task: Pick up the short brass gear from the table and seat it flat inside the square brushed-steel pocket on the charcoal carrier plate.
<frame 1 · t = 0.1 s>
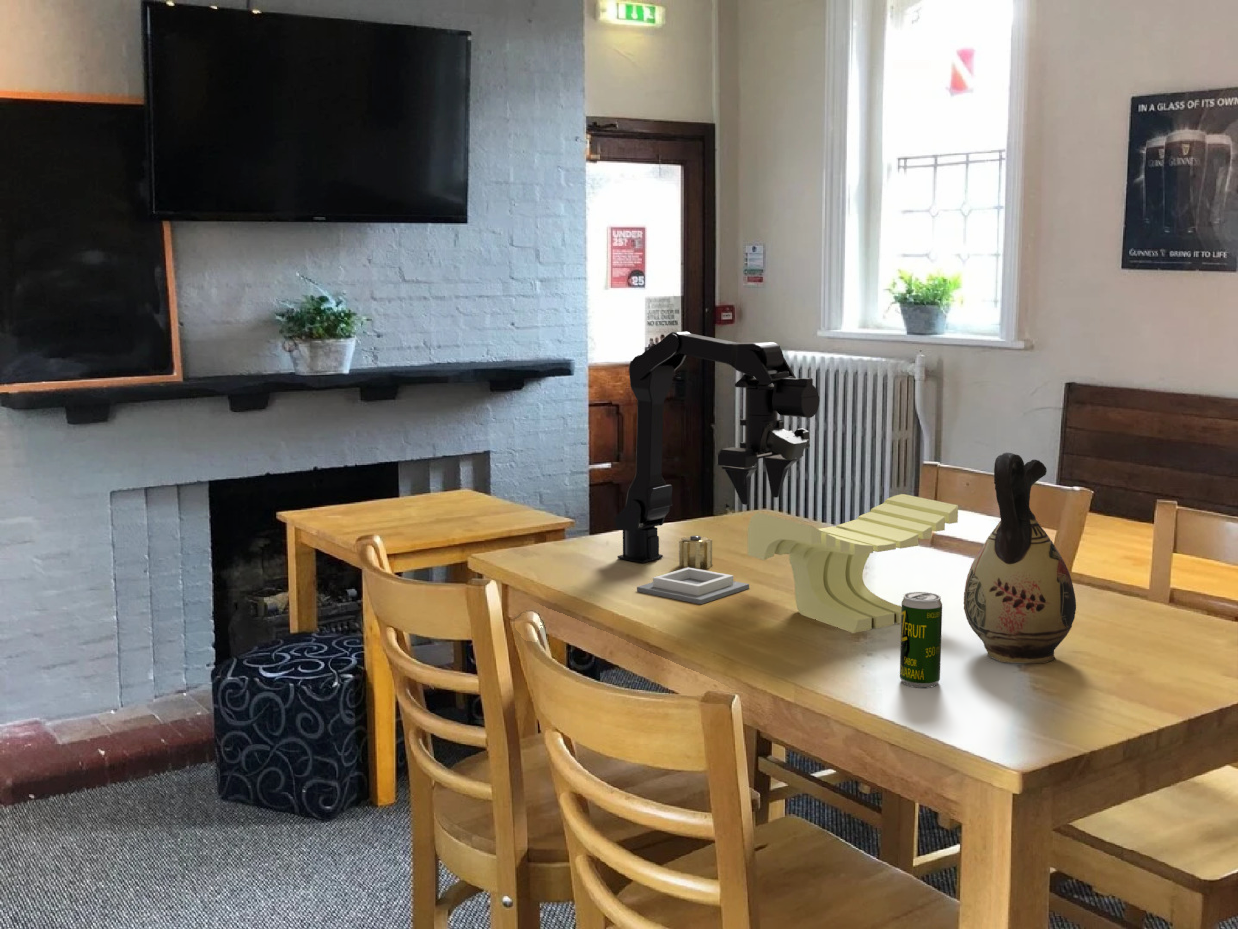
hand: (760, 500, 233), 15 cm above the table, fingers open, 9 cm apart
gear: (695, 565, 247), on the table
ceramic jug: (1014, 658, 189), on the table
carrier plate: (693, 589, 229), on the table
slatted curved stool: (851, 616, 212), on the table
green soda can: (919, 683, 178), on the table
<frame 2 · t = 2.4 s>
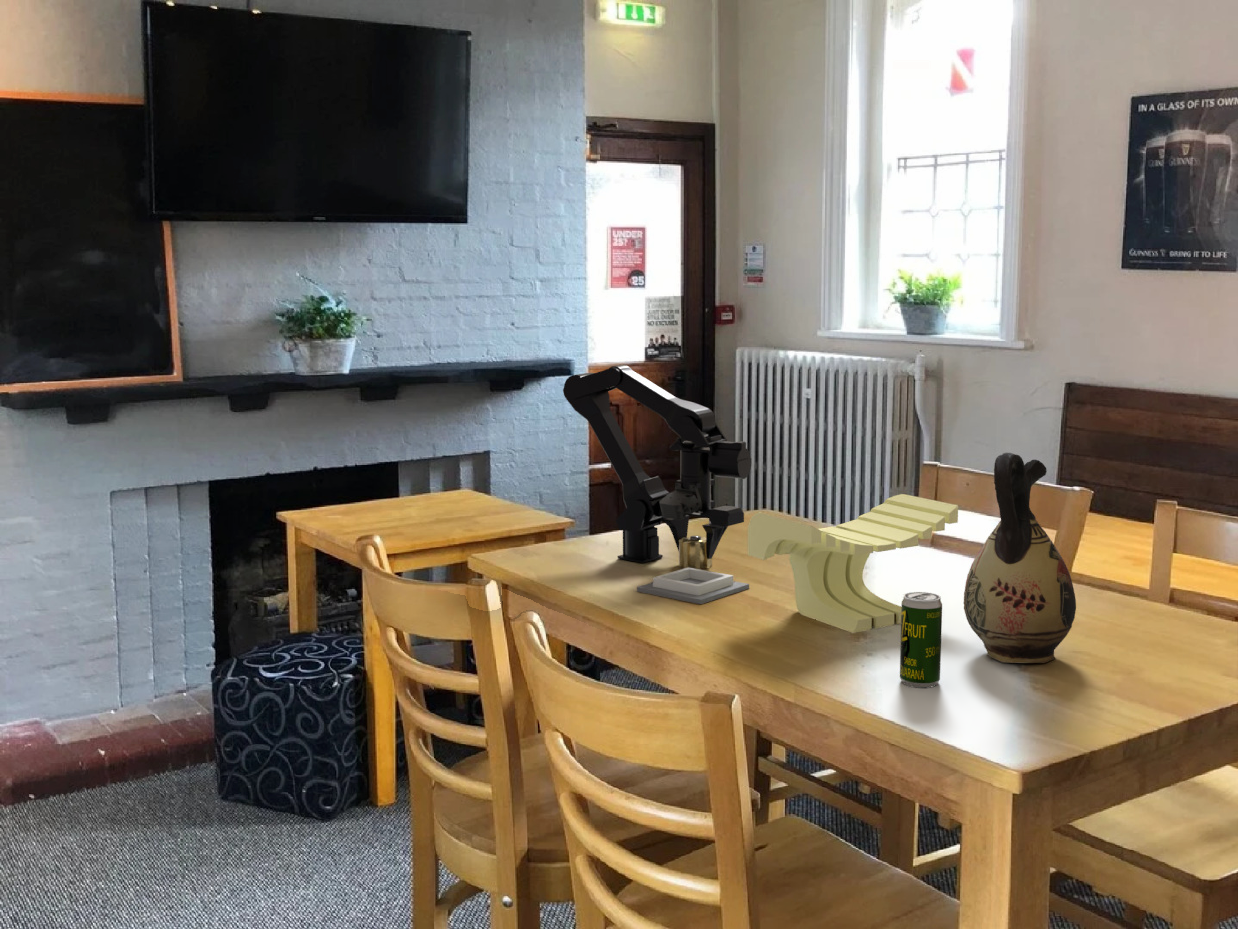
hand: (695, 556, 247), 2 cm above the table, fingers closed on gear, 6 cm apart
gear: (695, 565, 247), on the table, touching gripper
everything else where it was.
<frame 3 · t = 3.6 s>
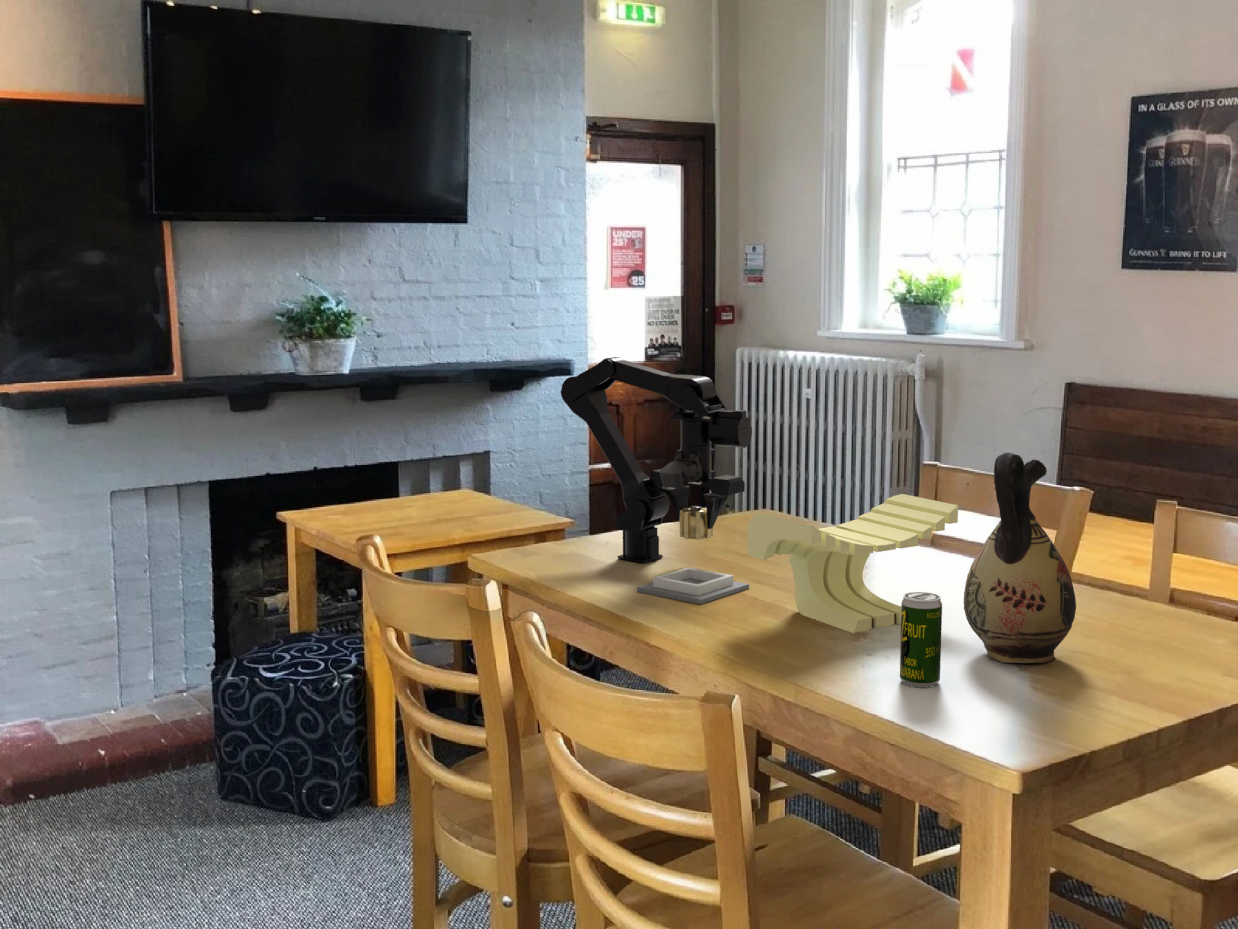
hand: (696, 526, 246), 8 cm above the table, fingers closed on gear, 6 cm apart
gear: (696, 536, 246), point 6 cm above the table, touching gripper
everything else where it was.
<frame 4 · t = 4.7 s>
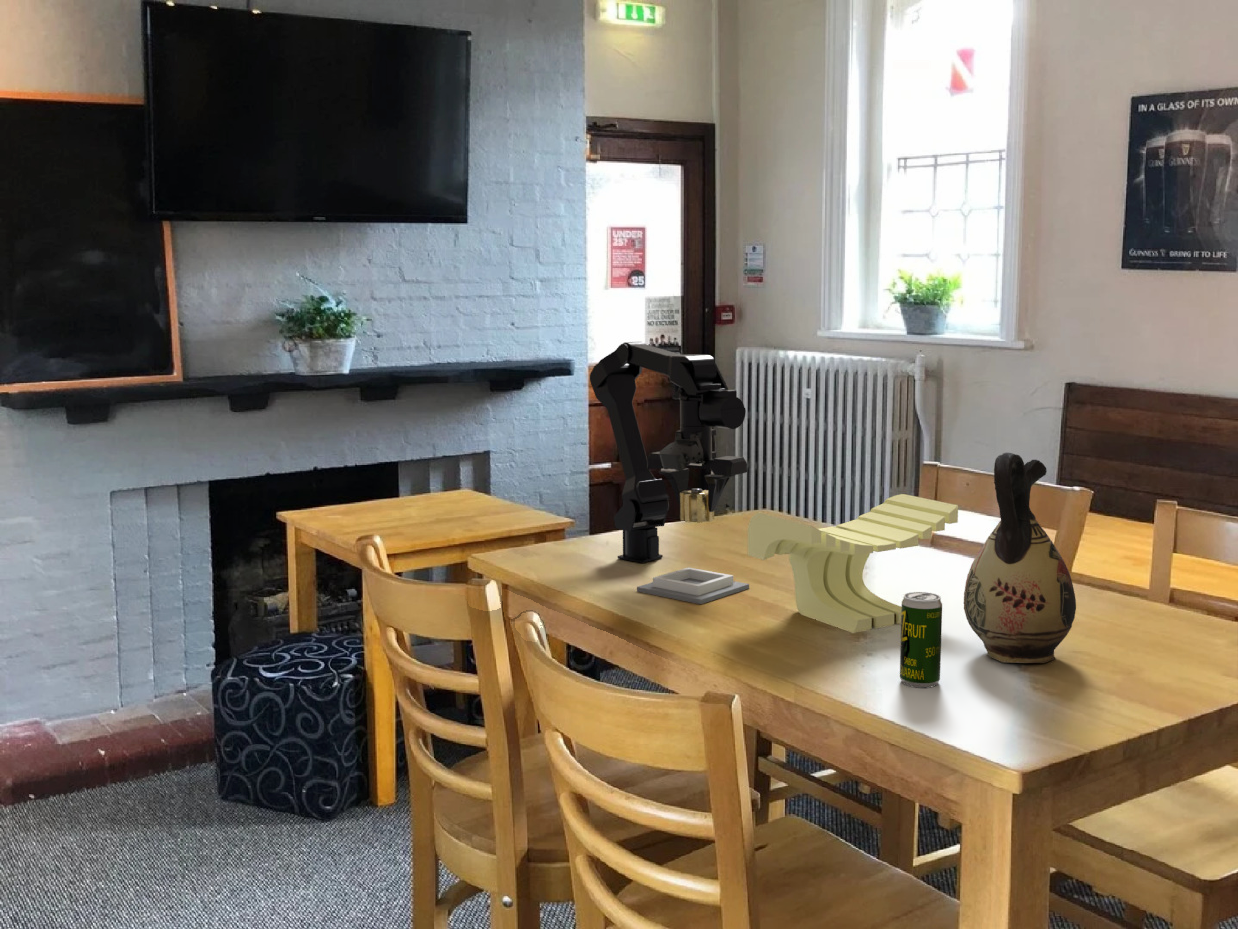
hand: (696, 509, 238), 12 cm above the table, fingers closed on gear, 6 cm apart
gear: (697, 519, 239), point 10 cm above the table, touching gripper
everything else where it was.
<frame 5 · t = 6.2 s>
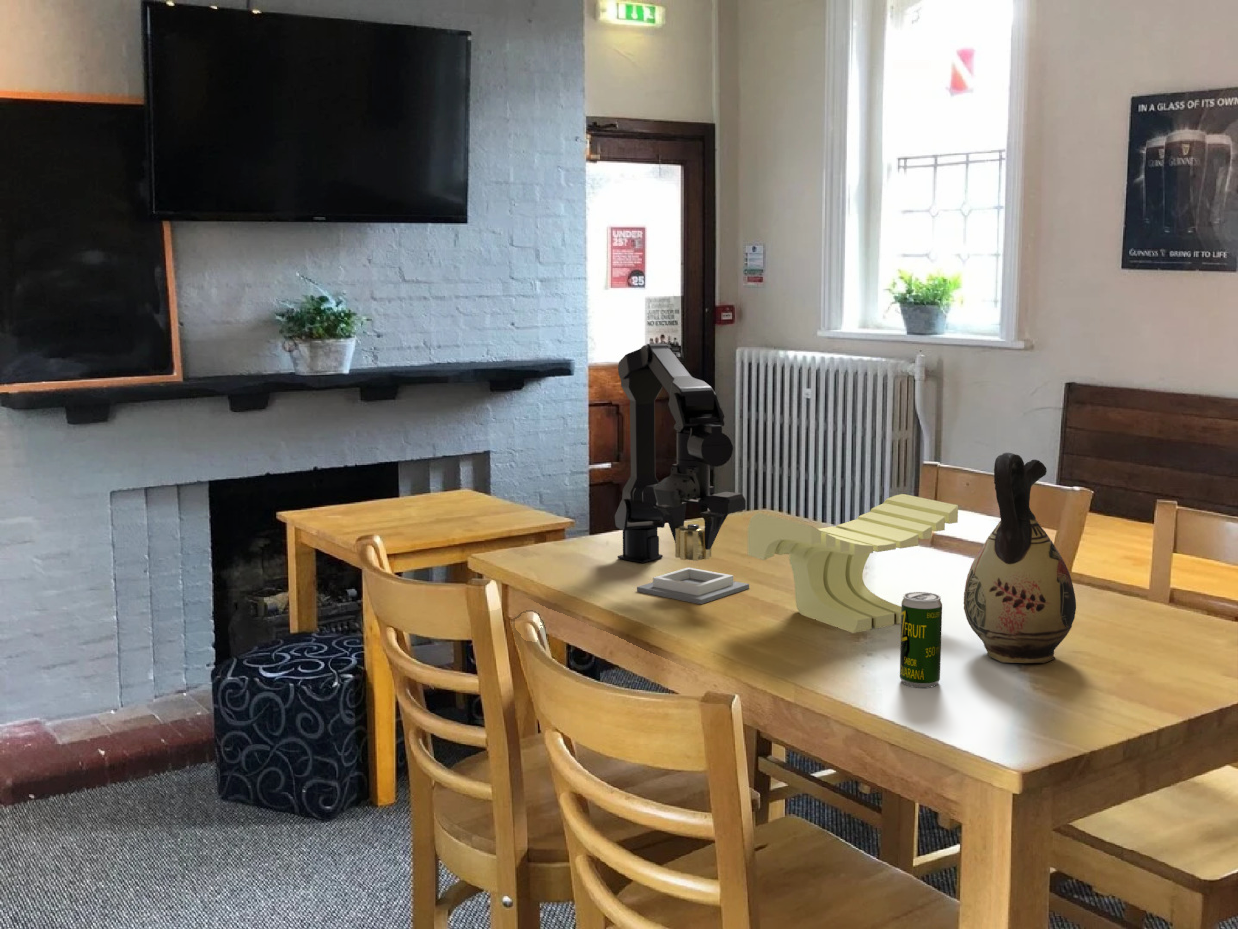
hand: (693, 546, 228), 8 cm above the table, fingers closed on gear, 6 cm apart
gear: (693, 556, 228), point 6 cm above the table, touching gripper
everything else where it was.
when the fingers open (4 cm above the table, at t = 7.3 s): gear drops 1 cm, resting on carrier plate.
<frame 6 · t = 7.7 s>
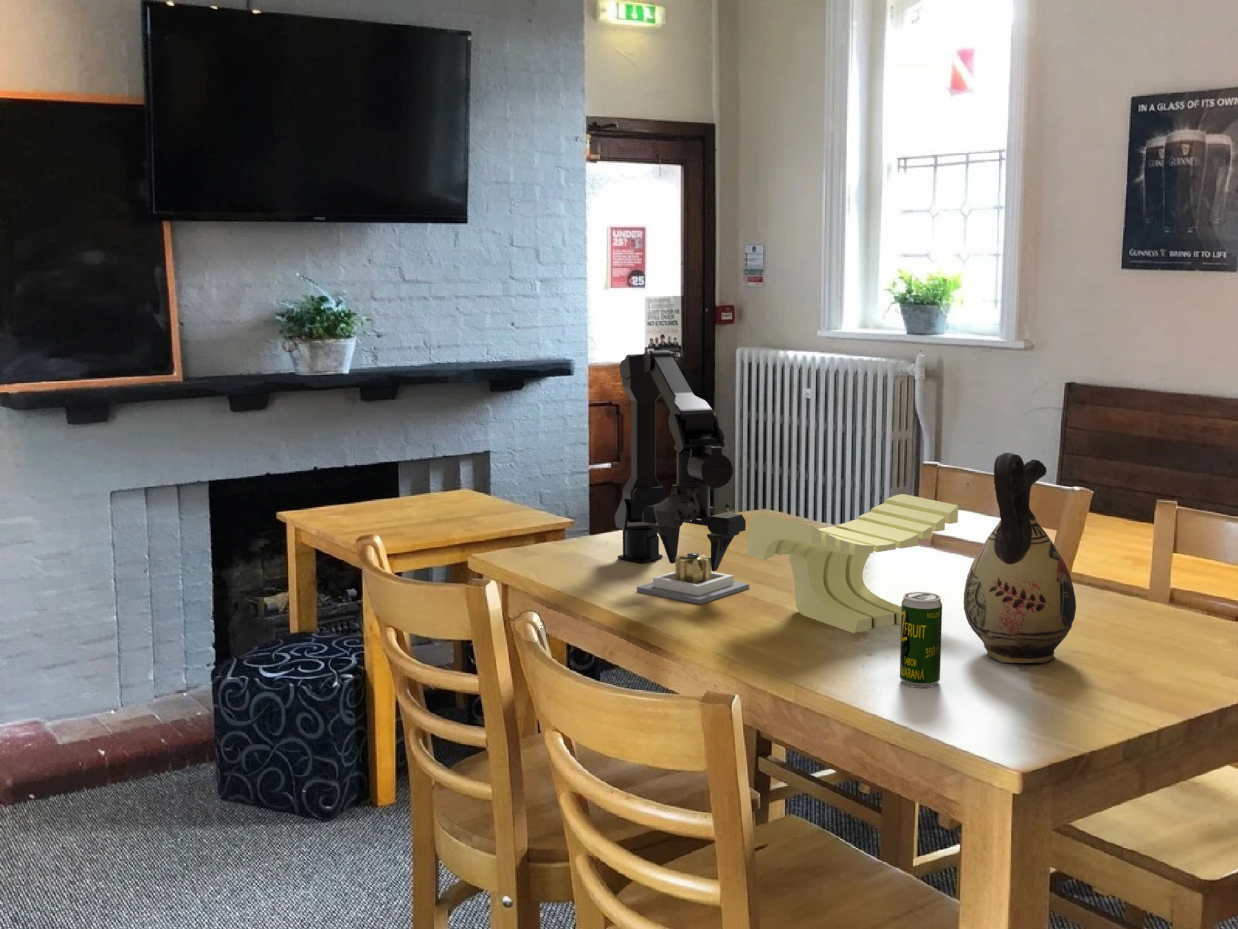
hand: (693, 567, 228), 4 cm above the table, fingers open, 9 cm apart
gear: (693, 585, 229), point 1 cm above the table, touching carrier plate
everything else where it was.
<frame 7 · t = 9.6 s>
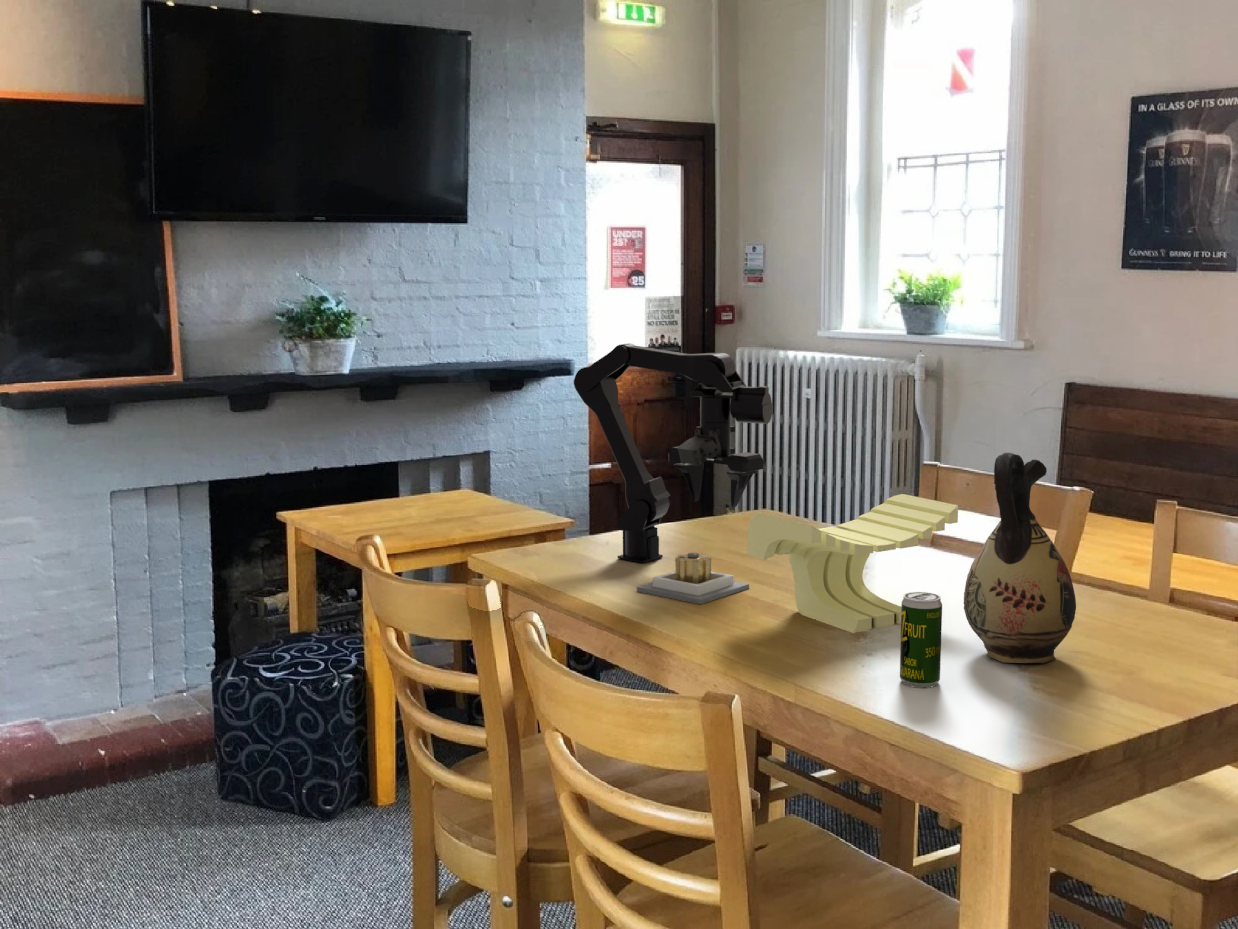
hand: (714, 503, 245), 12 cm above the table, fingers open, 9 cm apart
nothing on the table moved.
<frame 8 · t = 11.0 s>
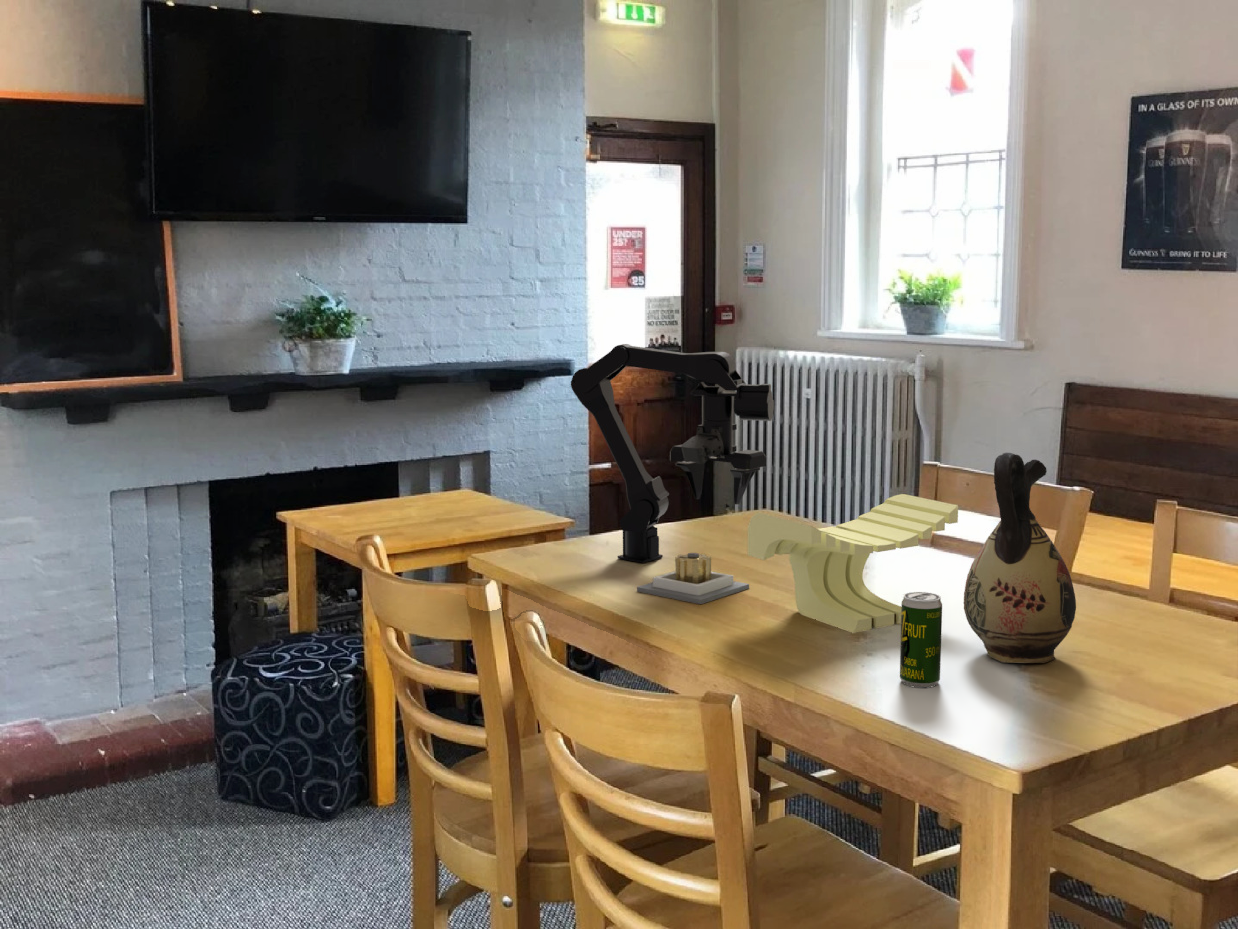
hand: (717, 501, 247), 12 cm above the table, fingers open, 9 cm apart
nothing on the table moved.
at the end: gear 0.1 cm off-centre on the carrier plate, point 0.8 cm above the carrier plate's base; gear tilted 0°; the gripper is holding nothing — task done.
